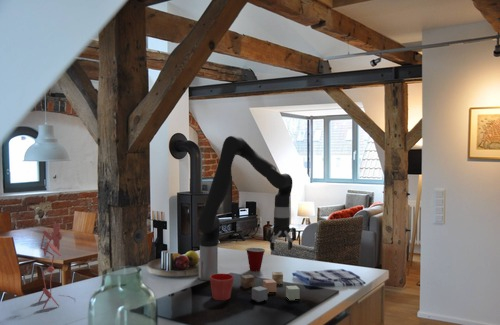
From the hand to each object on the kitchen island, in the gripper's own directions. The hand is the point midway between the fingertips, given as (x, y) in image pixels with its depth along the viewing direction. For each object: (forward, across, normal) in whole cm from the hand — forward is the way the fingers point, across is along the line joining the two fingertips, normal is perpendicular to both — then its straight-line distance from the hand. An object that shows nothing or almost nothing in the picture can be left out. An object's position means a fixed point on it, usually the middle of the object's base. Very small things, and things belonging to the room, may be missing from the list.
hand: (281, 249), depth 226 cm
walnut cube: (+20, +13, -10) cm, 25 cm away
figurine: (+20, +99, -7) cm, 102 cm away
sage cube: (+19, -1, +13) cm, 23 cm away
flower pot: (+20, +30, +4) cm, 36 cm away
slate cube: (+19, +14, +10) cm, 26 cm away
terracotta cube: (+19, +5, 0) cm, 20 cm away
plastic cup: (+20, +1, -37) cm, 42 cm away
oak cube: (+19, -3, -11) cm, 23 cm away
